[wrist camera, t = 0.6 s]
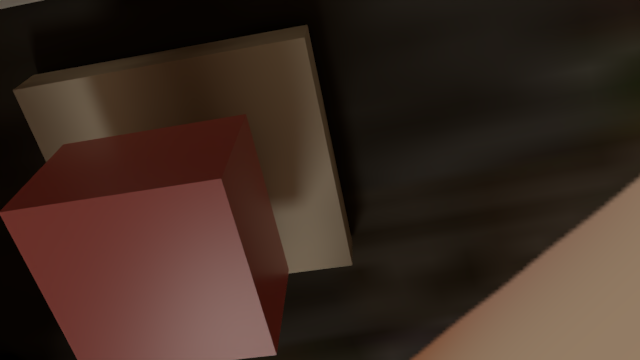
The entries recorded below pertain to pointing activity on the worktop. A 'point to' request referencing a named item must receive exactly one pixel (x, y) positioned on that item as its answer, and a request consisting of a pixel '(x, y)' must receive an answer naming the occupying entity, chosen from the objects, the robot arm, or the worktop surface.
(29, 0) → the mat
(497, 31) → the worktop surface
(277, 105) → the post stand
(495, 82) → the worktop surface
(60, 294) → the red cuboid block
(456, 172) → the worktop surface
